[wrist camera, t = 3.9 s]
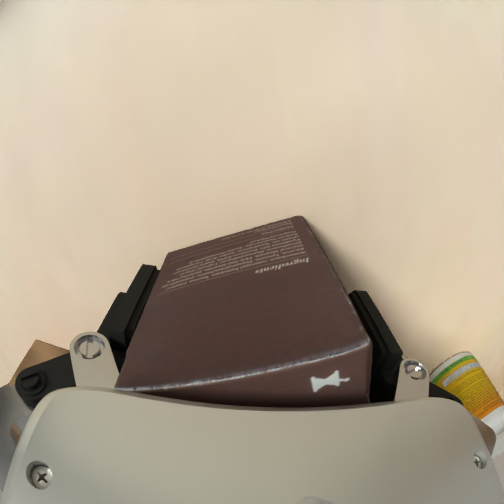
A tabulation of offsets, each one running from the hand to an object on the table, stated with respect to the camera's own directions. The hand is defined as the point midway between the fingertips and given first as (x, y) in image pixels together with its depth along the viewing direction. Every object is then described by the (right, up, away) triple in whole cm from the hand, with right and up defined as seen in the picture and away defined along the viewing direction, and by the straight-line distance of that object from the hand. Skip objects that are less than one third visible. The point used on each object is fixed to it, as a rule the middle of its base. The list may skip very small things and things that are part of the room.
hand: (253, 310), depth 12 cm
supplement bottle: (+17, -8, +7) cm, 19 cm away
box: (0, +1, +2) cm, 2 cm away
